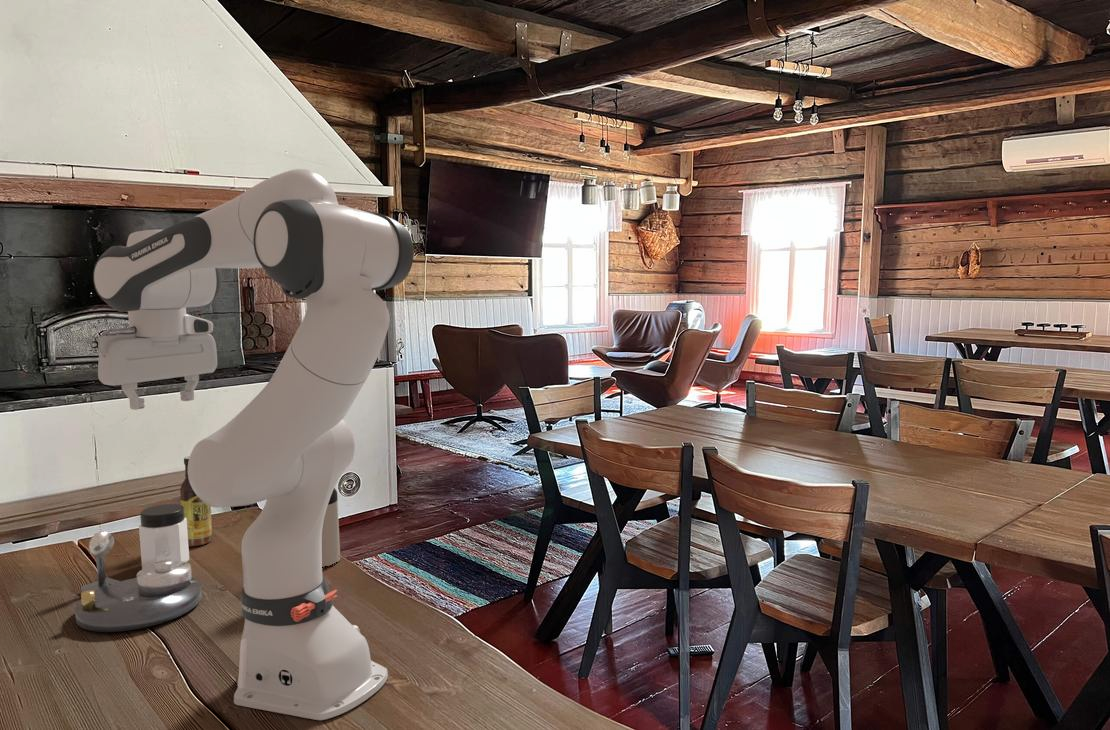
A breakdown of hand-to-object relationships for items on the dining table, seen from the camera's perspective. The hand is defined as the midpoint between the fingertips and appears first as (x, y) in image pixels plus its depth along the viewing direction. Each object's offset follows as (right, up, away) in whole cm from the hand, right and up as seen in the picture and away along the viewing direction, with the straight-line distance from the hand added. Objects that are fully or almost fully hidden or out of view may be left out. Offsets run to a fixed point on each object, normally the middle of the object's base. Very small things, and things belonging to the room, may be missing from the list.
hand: (163, 404), depth 132 cm
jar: (-14, -35, +27) cm, 47 cm away
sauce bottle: (-13, -34, +41) cm, 55 cm away
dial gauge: (-18, -37, +14) cm, 43 cm away
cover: (-5, -34, +10) cm, 36 cm away
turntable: (-7, -38, +6) cm, 39 cm away
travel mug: (+19, -35, +28) cm, 49 cm away
